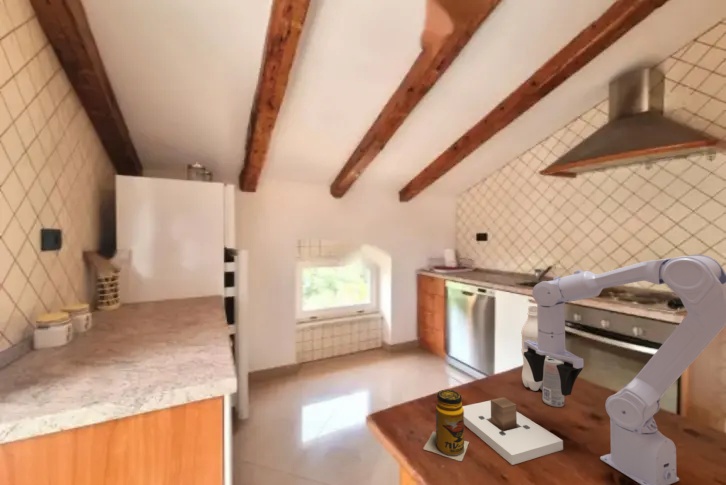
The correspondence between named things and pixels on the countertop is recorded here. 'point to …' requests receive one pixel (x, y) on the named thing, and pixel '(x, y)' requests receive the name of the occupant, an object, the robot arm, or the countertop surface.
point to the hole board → (511, 435)
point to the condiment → (448, 427)
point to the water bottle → (527, 334)
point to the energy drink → (552, 383)
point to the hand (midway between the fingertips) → (551, 387)
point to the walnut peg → (503, 414)
